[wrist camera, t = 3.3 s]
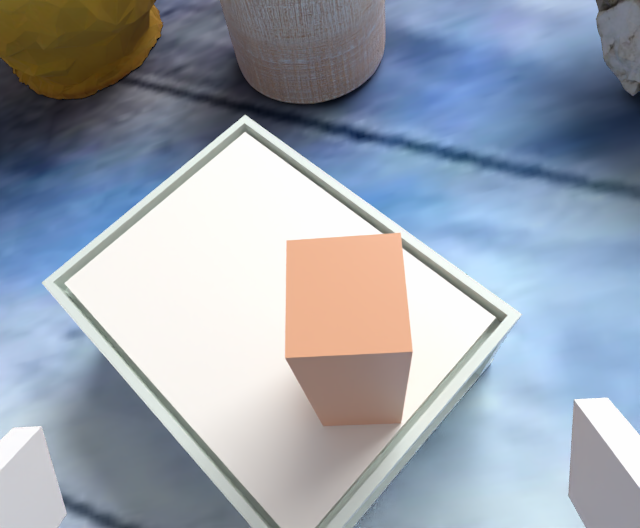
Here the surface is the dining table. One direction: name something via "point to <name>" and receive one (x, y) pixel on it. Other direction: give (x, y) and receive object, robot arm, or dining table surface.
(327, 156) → the dining table surface
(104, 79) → the pitcher
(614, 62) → the rock
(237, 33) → the planter
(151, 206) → the tub
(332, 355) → the lid
